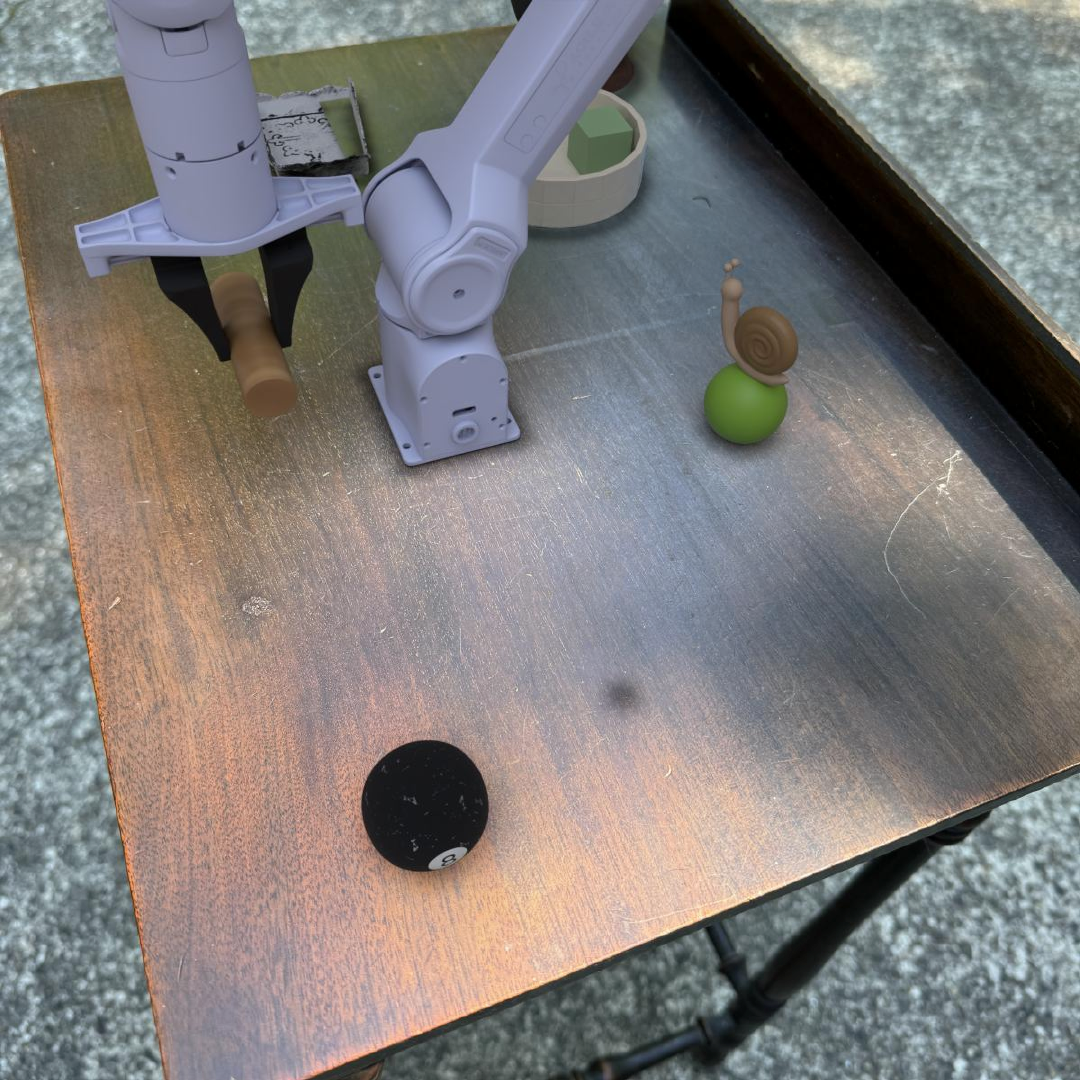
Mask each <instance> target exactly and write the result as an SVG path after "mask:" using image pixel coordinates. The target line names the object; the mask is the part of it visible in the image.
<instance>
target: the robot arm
mask: <svg viewBox="0 0 1080 1080" xmlns="http://www.w3.org/2000/svg"><path fill="white" fill-rule="evenodd" d="M664 2H665V0H532V2H531V3H530V5H529V7H528V8H527V10H526V11H525V13H524V14H523V16H522V17H521V19H520V20H519V22H518V21H517V23H516V25H515V27H514V28H513V30H512V31H511V33H510V34H509V35H508V37H507V38H506V40H505V42H504V43H503V45H502V46H501V48H500V49H499V51H498V52H497V54H496V55H495V57H494V59H493V60H492V62H491V63H490V65H489V66H488V68H486V71H485V72H484V74H483V75H482V77H481V78H480V80H479V81H478V83H477V84H476V86H475V88H474V89H473V91H472V92H471V94H470V95H469V97H468V98H467V100H466V101H465V103H464V105H463V106H462V108H461V109H460V110H459V112H458V114H457V115H456V117H455V118H454V120H453V121H452V122H451V124H450V125H448V126H444V127H440V128H434V129H430V130H429V129H428V130H426V131H425V130H424V131H422V132H419V133H418V134H416V135H415V137H414V139H412V142H411V143H410V145H409V146H408V148H407V149H406V150H405V151H404V153H402V154H401V155H400V157H399V158H397V159H396V160H395V161H393V162H392V163H389V165H387V166H385V167H384V168H383V169H381V170H379V172H377V173H376V174H375V175H374V176H373V177H372V178H371V180H370V181H369V182H368V183H367V185H366V187H365V188H364V190H363V193H362V192H361V189H360V188H359V186H358V183H356V180H354V178H353V176H352V175H351V174H348V175H342V176H333V177H278V176H272V172H271V166H270V163H269V160H268V155H267V150H266V144H265V139H264V134H263V128H262V124H261V119H260V114H259V108H258V103H257V98H256V94H257V92H256V88H255V83H254V77H253V72H252V66H251V61H250V56H249V51H248V45H247V41H246V40H247V39H246V35H245V32H244V30H243V28H242V25H241V24H240V23H239V22H238V16H237V12H236V11H237V10H236V6H235V1H234V0H104V7H105V10H106V15H107V17H108V21H109V25H110V26H111V28H112V30H113V31H114V33H115V34H114V50H115V54H116V57H117V60H118V64H119V67H120V70H121V74H122V77H123V81H124V84H125V87H126V91H127V94H128V98H129V101H130V105H131V109H132V111H133V114H134V115H133V116H134V119H135V122H136V125H137V128H138V132H139V135H140V139H141V141H142V145H143V147H144V151H145V155H146V159H147V161H148V164H149V169H150V171H151V175H152V178H153V182H154V186H155V189H156V191H157V192H156V193H157V196H155V197H153V198H150V199H148V200H145V201H143V202H140V203H138V204H136V205H133V206H130V207H128V208H126V209H123V210H120V211H118V212H116V213H113V214H111V215H108V216H105V217H102V218H98V219H95V220H92V221H88V222H84V223H80V224H79V223H78V224H75V225H74V226H73V227H74V232H75V239H76V243H77V248H78V250H79V253H80V255H81V258H82V261H83V263H84V266H85V268H86V270H87V274H88V276H89V278H91V279H94V278H99V277H103V276H107V275H109V274H111V273H112V267H114V266H119V265H125V264H129V263H135V262H141V261H145V260H150V261H151V265H152V268H153V272H154V275H155V278H156V283H157V285H158V287H159V289H160V290H161V292H162V294H164V296H165V297H166V298H167V300H168V301H169V302H171V303H173V304H174V305H175V306H177V307H178V308H179V309H180V310H181V311H182V312H183V313H184V314H186V315H187V316H188V317H189V318H190V319H191V320H192V321H193V322H194V323H195V325H196V326H197V327H198V328H199V329H200V331H201V332H202V333H203V334H204V336H205V338H207V340H208V341H209V343H210V345H211V346H212V348H213V349H214V352H215V353H216V355H217V357H218V360H219V361H218V362H220V363H225V362H231V359H230V356H231V353H230V350H229V346H228V343H227V340H226V337H225V334H224V331H223V328H222V325H221V322H220V319H219V316H218V314H217V311H216V309H215V306H214V303H213V299H212V295H211V286H210V283H209V281H208V276H207V274H206V271H205V267H204V264H203V261H202V257H204V258H205V257H206V258H207V257H209V258H211V257H213V258H217V257H218V258H219V257H221V258H222V257H229V256H230V257H231V256H236V255H241V254H245V253H248V252H250V251H253V250H256V249H258V254H259V259H260V262H261V267H262V271H263V275H264V281H265V289H266V296H267V304H268V305H267V306H268V311H269V314H270V317H271V320H272V323H273V326H274V329H275V331H276V334H277V337H278V340H279V342H280V345H281V347H282V350H283V349H287V348H291V347H292V346H293V327H294V321H295V314H296V311H297V305H298V301H299V298H300V296H301V293H302V289H303V287H304V285H305V283H306V281H307V279H308V278H309V276H310V274H311V272H312V271H313V266H314V251H313V247H312V245H311V242H310V240H309V237H308V232H307V229H308V228H313V227H317V226H324V225H328V224H333V223H339V222H342V223H343V225H345V227H349V228H350V227H354V226H355V227H356V226H359V225H361V227H362V229H363V230H364V232H365V235H366V236H367V238H368V240H370V241H371V242H372V243H373V245H374V246H375V248H376V250H377V252H378V255H379V257H380V258H381V262H380V268H379V271H378V273H377V278H376V282H375V287H374V295H375V304H376V315H377V323H378V333H379V340H380V341H379V342H380V353H381V362H382V364H379V365H375V366H372V367H370V368H369V369H368V370H367V374H368V378H369V380H370V383H371V386H372V388H373V390H374V393H375V395H376V398H377V400H378V402H379V405H380V408H381V410H382V411H383V414H384V417H385V419H386V421H387V424H388V427H389V429H390V431H391V434H392V436H393V439H394V441H395V443H396V446H397V448H398V451H399V453H400V456H401V458H402V460H403V462H404V464H405V465H406V466H408V467H409V466H410V467H412V466H413V467H414V466H419V465H422V464H426V463H430V462H433V461H437V460H442V459H445V458H451V457H454V456H459V455H461V454H462V455H463V454H466V453H469V452H473V451H478V450H481V449H485V448H489V447H493V446H497V445H500V444H504V443H508V442H512V441H516V440H518V439H519V438H520V437H521V430H520V428H519V425H518V424H517V422H516V420H515V417H514V416H513V413H512V412H511V410H510V408H509V372H508V368H507V365H506V363H505V360H504V359H503V357H502V355H501V353H500V351H499V348H498V346H497V343H496V339H495V336H494V329H493V327H494V326H493V324H494V323H493V321H494V319H493V318H494V315H493V314H494V313H495V312H496V311H497V309H498V308H499V307H500V305H501V303H502V302H503V300H504V298H505V295H506V293H507V290H508V285H509V281H510V275H511V273H512V270H513V268H514V267H515V264H516V263H517V262H518V259H519V258H520V257H521V256H522V254H523V253H524V251H525V250H526V249H527V246H528V238H529V225H528V191H529V188H530V186H531V185H532V184H533V182H534V181H535V179H536V178H537V177H538V175H539V174H540V172H541V171H542V170H543V168H544V167H545V166H546V164H547V163H548V161H549V160H550V159H551V157H552V156H553V154H554V153H555V152H556V150H557V149H558V147H559V146H560V145H561V143H562V142H563V141H564V139H565V138H566V136H567V135H568V134H569V132H570V131H571V129H572V128H573V127H574V125H575V124H576V123H577V121H578V120H579V118H580V117H581V116H582V114H583V113H584V111H585V110H586V109H587V107H588V106H589V104H590V103H591V102H592V100H593V99H594V98H595V96H596V95H597V93H598V92H599V91H600V89H601V88H602V86H603V85H604V84H605V82H606V81H607V79H608V78H609V77H610V75H611V74H612V73H613V71H614V70H615V68H616V67H617V66H618V64H619V63H620V61H621V60H622V59H623V57H624V56H625V54H627V53H628V52H629V50H630V49H631V48H632V46H633V45H634V44H635V42H636V41H637V39H638V38H639V36H640V35H641V34H642V32H643V31H644V30H645V28H646V27H647V25H648V24H649V23H650V21H651V20H652V18H653V17H654V15H655V14H656V13H657V12H658V10H659V9H660V8H661V6H662V5H663V3H664Z"/></svg>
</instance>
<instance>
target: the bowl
mask: <svg viewBox="0 0 1080 1080" xmlns="http://www.w3.org/2000/svg"><path fill="white" fill-rule="evenodd" d="M607 106H614V107H615V108H616V109H617V110H618V112H619V113H620V114H621V115H622V117H623V118H624V119H625V120H626V122H627V123H628V124H629V125H630V127H631V128H632V129H633V135H632V143H631V151H630V155H629V156H628V157H627V158H626V159H624V160H623V161H622V162H621V163H619V164H617V165H614V166H612V167H610V168H607V169H605V170H603V171H601V172H596V173H590V174H585V175H580V174H579V172H578V171H577V169H576V168H575V167H574V165H573V164H572V162H571V161H570V160H569V158H568V157H567V150H568V136H569V134H568V135H567V136H566V138H565V139H564V141H563V142H562V143H561V145H560V146H559V147H558V149H557V150H556V152H555V153H554V154H553V156H552V157H551V159H550V160H549V161H548V163H547V164H546V166H545V167H544V168H543V170H542V171H541V172H540V174H539V175H538V177H537V178H536V179H535V181H534V182H533V184H532V185H531V186H530V188H529V191H528V226H530V227H531V226H532V227H537V228H538V227H540V228H550V229H551V228H552V229H553V228H554V229H555V228H556V229H557V228H558V229H563V228H565V229H566V228H575V227H582V226H583V227H584V226H588V225H591V224H595V223H596V224H597V223H600V222H602V221H605V220H607V219H609V218H612V217H613V216H616V215H617V214H619V213H621V212H623V210H624V209H626V208H627V207H628V206H629V205H630V204H631V203H632V202H633V201H634V200H635V199H636V197H637V195H638V193H639V189H640V186H641V183H642V181H643V180H642V179H643V172H644V164H645V157H646V150H647V144H648V143H647V142H648V133H647V127H646V123H645V120H644V118H643V117H642V116H641V115H640V114H639V112H638V111H637V110H636V109H635V108H634V106H633V105H631V104H630V103H629V102H627V101H626V100H624V99H623V98H620V97H619V96H617V95H616V94H614V93H611V92H608V91H605V90H602V89H600V91H599V92H598V93H597V95H596V96H595V98H594V99H593V100H592V102H591V103H590V104H589V106H588V107H587V109H586V110H589V109H595V108H601V107H607Z"/></svg>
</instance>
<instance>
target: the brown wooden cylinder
mask: <svg viewBox="0 0 1080 1080" xmlns="http://www.w3.org/2000/svg"><path fill="white" fill-rule="evenodd" d="M210 290H211V295H212V299H213V303H214V306H215V309H216V311H217V314H218V316H219V319H220V322H221V325H222V328H223V331H224V334H225V337H226V340H227V343H228V346H229V350H230V353H231V356H230V359H231V360H230V362H231V364H232V368H233V371H234V374H235V379H236V382H237V384H238V387H239V390H240V393H241V396H242V397H241V398H242V400H243V402H244V403H243V404H244V406H245V408H246V410H247V411H248V412H249V413H251V415H253V416H255V417H258V418H260V419H261V418H263V419H273V418H278V417H281V416H283V415H285V414H286V413H289V412H290V411H291V410H292V409H293V408H294V407H295V405H296V404H297V402H298V398H299V391H298V388H297V385H296V382H295V379H294V377H293V375H292V371H291V369H290V366H289V363H288V360H287V358H286V355H285V352H284V350H283V349H282V347H281V345H280V342H279V340H278V337H277V334H276V331H275V329H274V326H273V323H272V320H271V317H270V312H269V307H268V305H267V303H266V300H265V297H264V294H263V293H262V290H261V287H260V284H259V282H258V280H257V279H256V278H255V277H254V276H252V275H251V274H250V273H247V272H244V271H238V270H237V271H228V272H226V273H223V274H222V275H220V276H218V277H217V278H216V279H215V280H214V282H213V283H212V284H211V286H210Z"/></svg>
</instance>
